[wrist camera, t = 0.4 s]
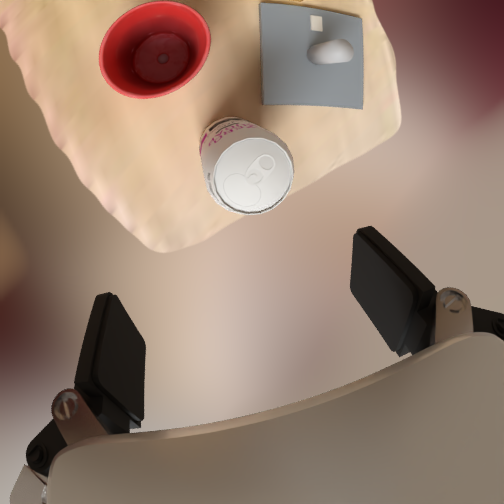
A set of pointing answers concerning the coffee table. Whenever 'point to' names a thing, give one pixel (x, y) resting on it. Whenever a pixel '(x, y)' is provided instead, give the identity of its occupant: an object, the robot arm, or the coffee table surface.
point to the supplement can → (245, 166)
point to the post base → (296, 67)
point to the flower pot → (154, 49)
